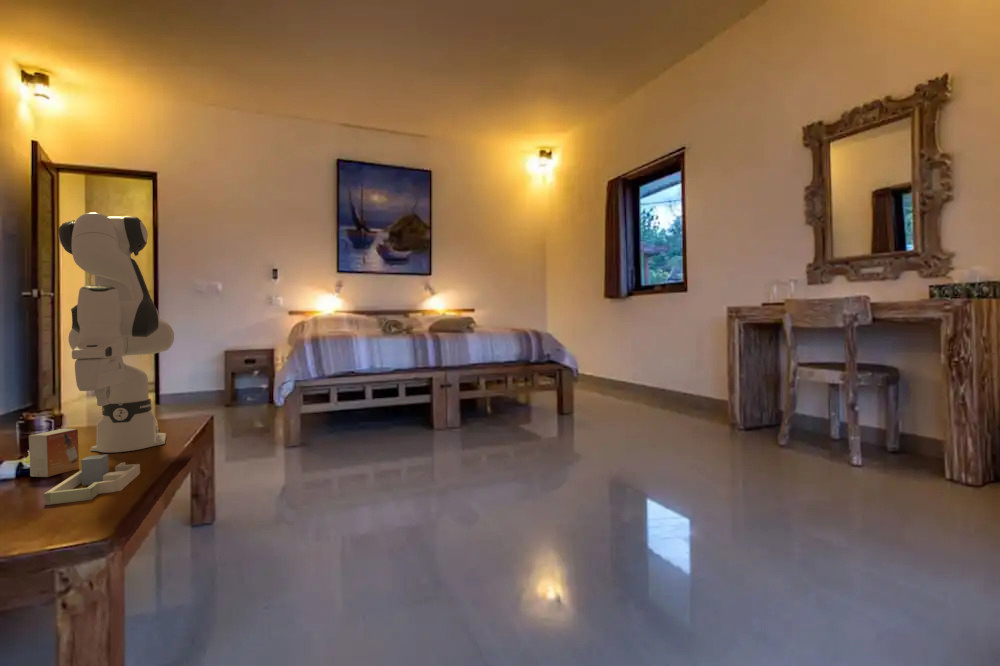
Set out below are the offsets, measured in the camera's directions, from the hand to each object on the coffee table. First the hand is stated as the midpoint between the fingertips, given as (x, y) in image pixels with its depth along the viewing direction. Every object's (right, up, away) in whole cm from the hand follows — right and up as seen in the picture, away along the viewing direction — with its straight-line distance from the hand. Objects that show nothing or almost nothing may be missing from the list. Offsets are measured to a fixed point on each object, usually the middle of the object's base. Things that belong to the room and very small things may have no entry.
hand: (103, 405), depth 128 cm
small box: (-14, -18, +3) cm, 23 cm away
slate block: (+3, -18, -6) cm, 19 cm away
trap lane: (+6, -17, -9) cm, 20 cm away
